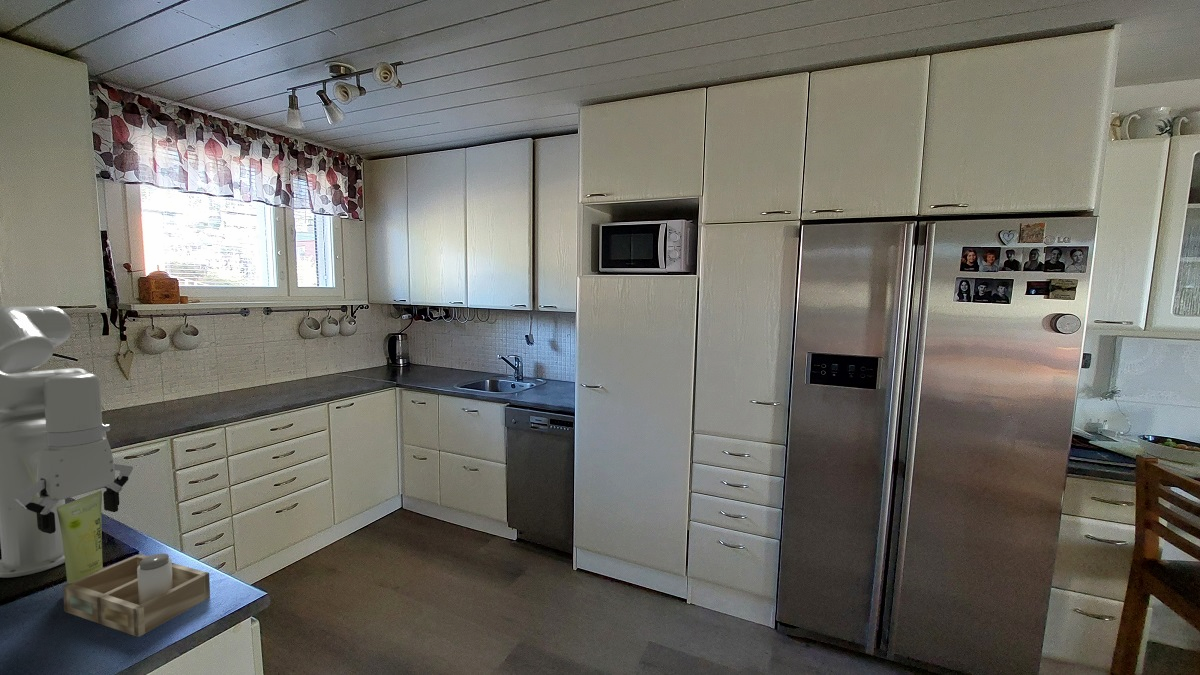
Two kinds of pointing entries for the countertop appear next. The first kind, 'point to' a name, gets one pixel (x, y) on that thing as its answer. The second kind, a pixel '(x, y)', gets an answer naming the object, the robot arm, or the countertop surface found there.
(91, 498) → the tube
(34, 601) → the countertop surface
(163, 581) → the jar
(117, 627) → the box
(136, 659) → the countertop surface
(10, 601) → the countertop surface
